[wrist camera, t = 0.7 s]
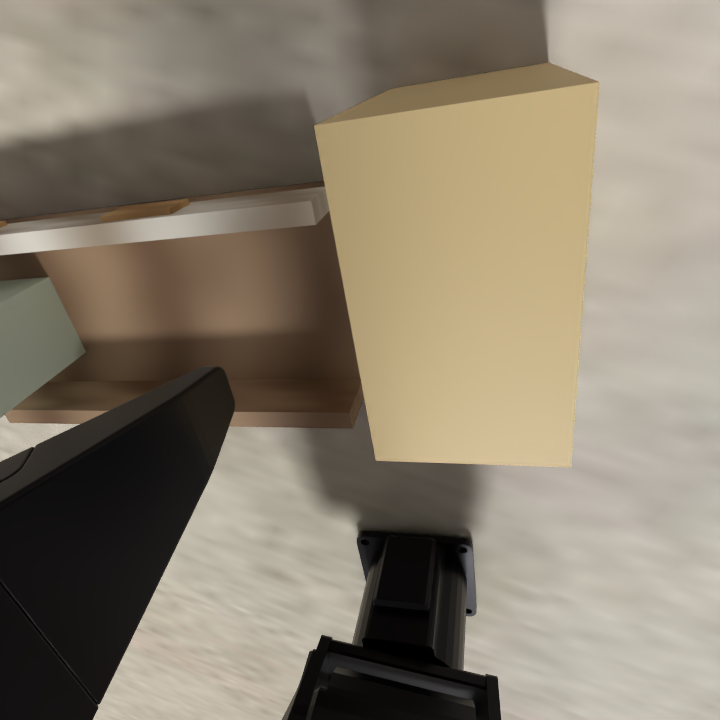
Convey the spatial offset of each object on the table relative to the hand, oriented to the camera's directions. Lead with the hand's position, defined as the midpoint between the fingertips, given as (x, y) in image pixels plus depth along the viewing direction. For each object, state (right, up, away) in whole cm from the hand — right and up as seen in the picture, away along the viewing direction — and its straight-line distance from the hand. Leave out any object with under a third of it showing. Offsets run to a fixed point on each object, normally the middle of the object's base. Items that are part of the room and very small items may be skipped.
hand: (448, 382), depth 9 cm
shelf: (-11, +3, +14) cm, 18 cm away
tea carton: (+2, +6, +9) cm, 11 cm away
